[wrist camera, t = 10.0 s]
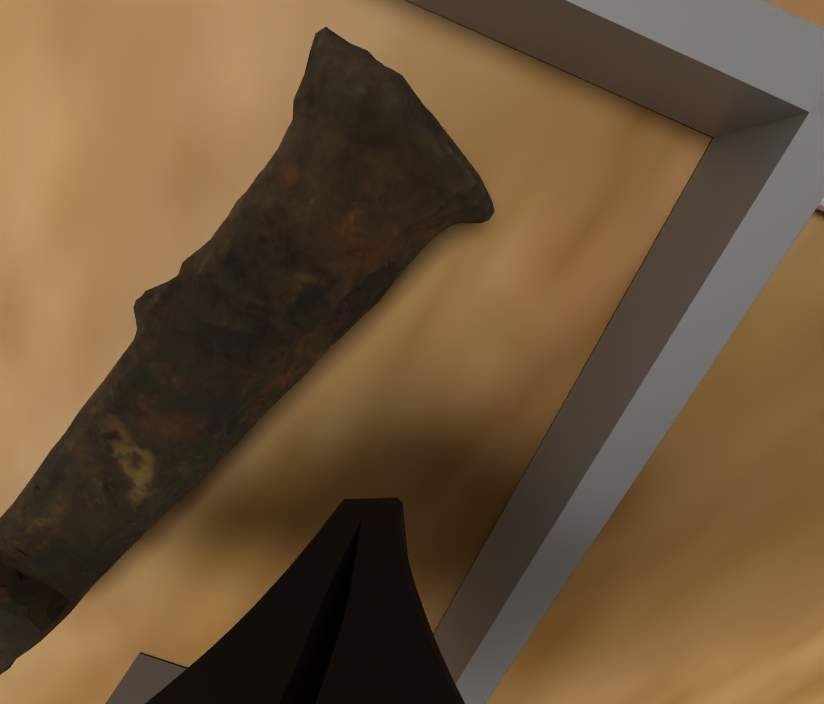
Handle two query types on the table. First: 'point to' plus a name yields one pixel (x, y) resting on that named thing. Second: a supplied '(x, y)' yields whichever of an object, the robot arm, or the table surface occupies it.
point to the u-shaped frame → (636, 281)
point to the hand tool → (237, 326)
